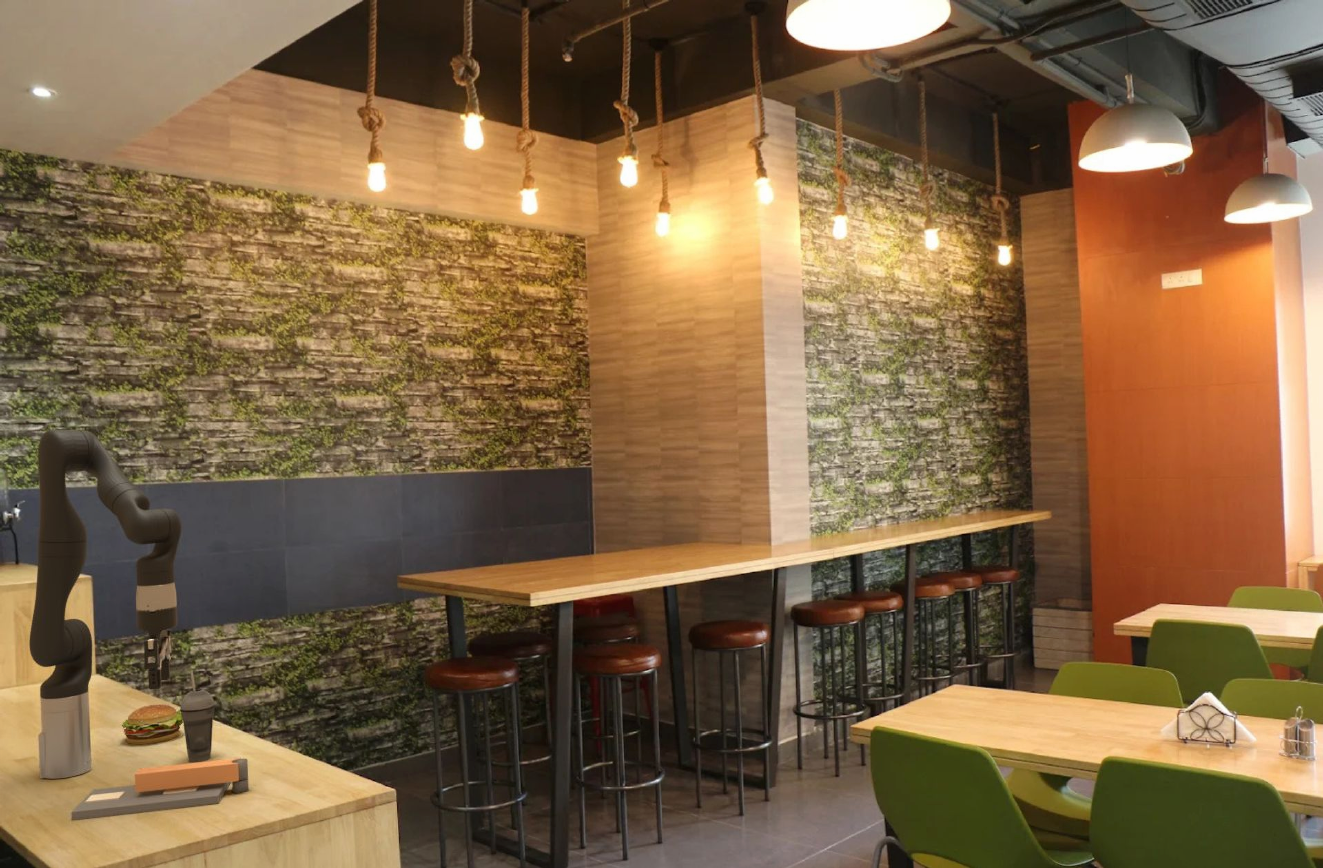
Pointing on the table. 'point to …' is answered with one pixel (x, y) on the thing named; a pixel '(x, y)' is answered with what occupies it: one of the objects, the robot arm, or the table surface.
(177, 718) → the food
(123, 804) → the label board
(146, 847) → the table surface
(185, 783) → the swing bar
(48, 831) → the table surface
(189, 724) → the beverage cup
